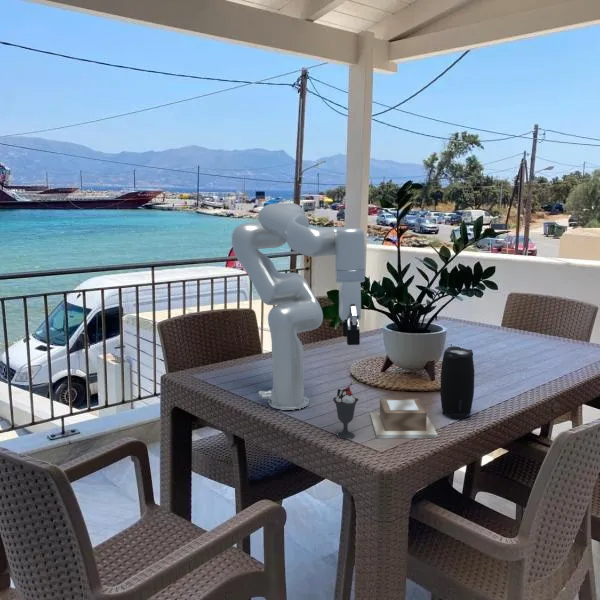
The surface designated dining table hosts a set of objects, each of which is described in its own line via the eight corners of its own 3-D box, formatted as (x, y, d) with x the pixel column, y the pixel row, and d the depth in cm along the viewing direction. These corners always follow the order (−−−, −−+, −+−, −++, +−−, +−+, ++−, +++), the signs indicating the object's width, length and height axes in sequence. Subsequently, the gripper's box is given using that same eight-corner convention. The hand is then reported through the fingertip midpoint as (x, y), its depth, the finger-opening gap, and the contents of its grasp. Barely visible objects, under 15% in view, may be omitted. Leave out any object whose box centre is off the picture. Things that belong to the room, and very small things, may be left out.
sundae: (357, 441, 148) (357, 386, 146) (331, 439, 150) (331, 385, 147) (359, 431, 155) (359, 378, 152) (334, 429, 156) (334, 377, 153)
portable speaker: (442, 408, 171) (444, 344, 168) (474, 412, 168) (477, 347, 164) (436, 417, 164) (439, 351, 160) (470, 422, 160) (473, 355, 156)
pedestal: (376, 438, 150) (376, 416, 149) (369, 415, 166) (370, 395, 165) (437, 438, 150) (438, 415, 149) (425, 415, 166) (425, 394, 165)
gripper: (333, 272, 156) (334, 334, 159) (338, 280, 139) (340, 348, 142) (360, 272, 157) (361, 333, 159) (369, 279, 139) (370, 347, 142)
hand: (351, 340), depth 151 cm, fingers open, 9 cm apart
